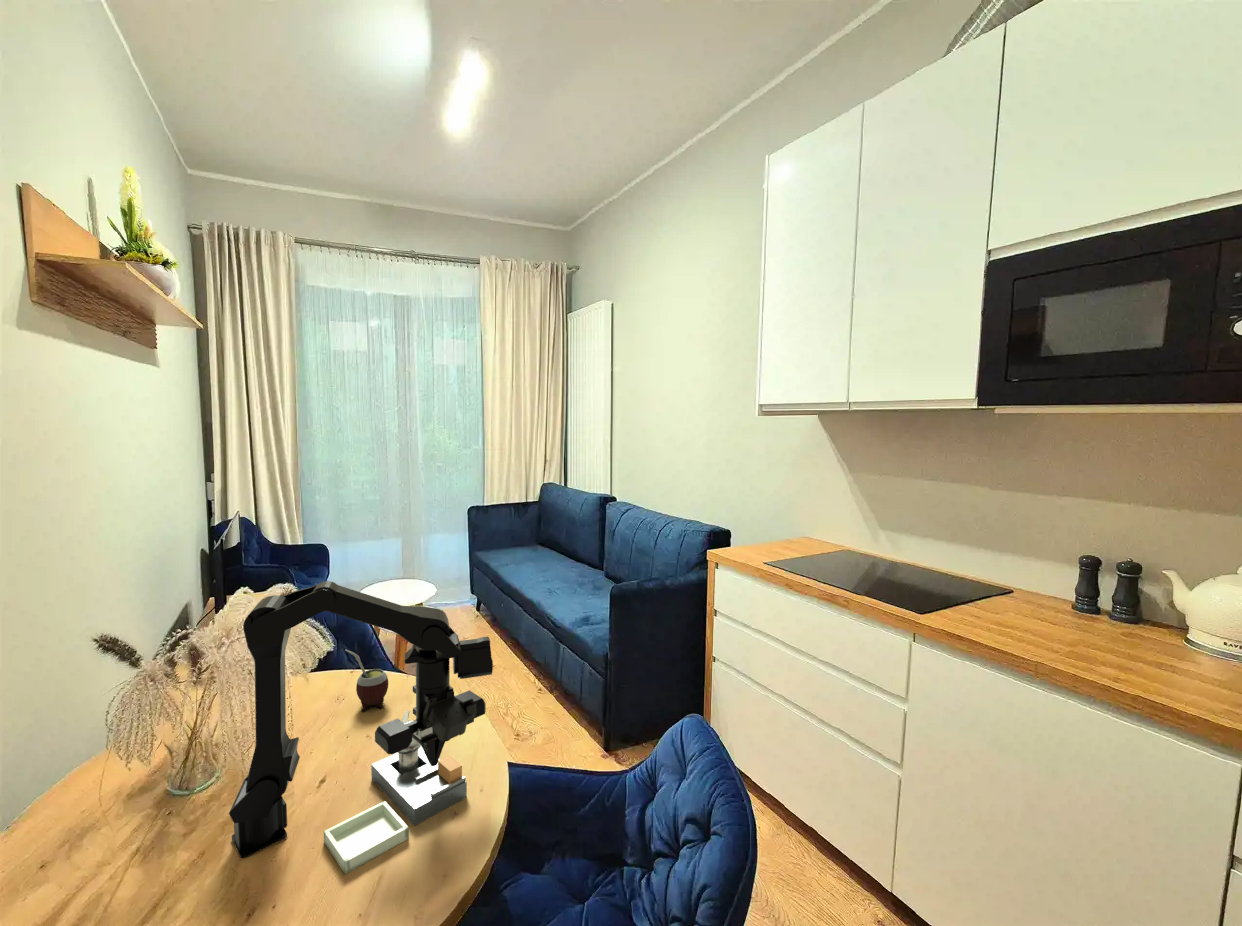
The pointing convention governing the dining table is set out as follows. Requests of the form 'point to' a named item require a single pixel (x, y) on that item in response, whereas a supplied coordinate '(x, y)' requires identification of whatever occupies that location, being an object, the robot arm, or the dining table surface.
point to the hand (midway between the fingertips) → (433, 764)
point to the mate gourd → (371, 686)
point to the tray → (365, 836)
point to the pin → (409, 758)
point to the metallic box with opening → (417, 787)
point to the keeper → (449, 769)
